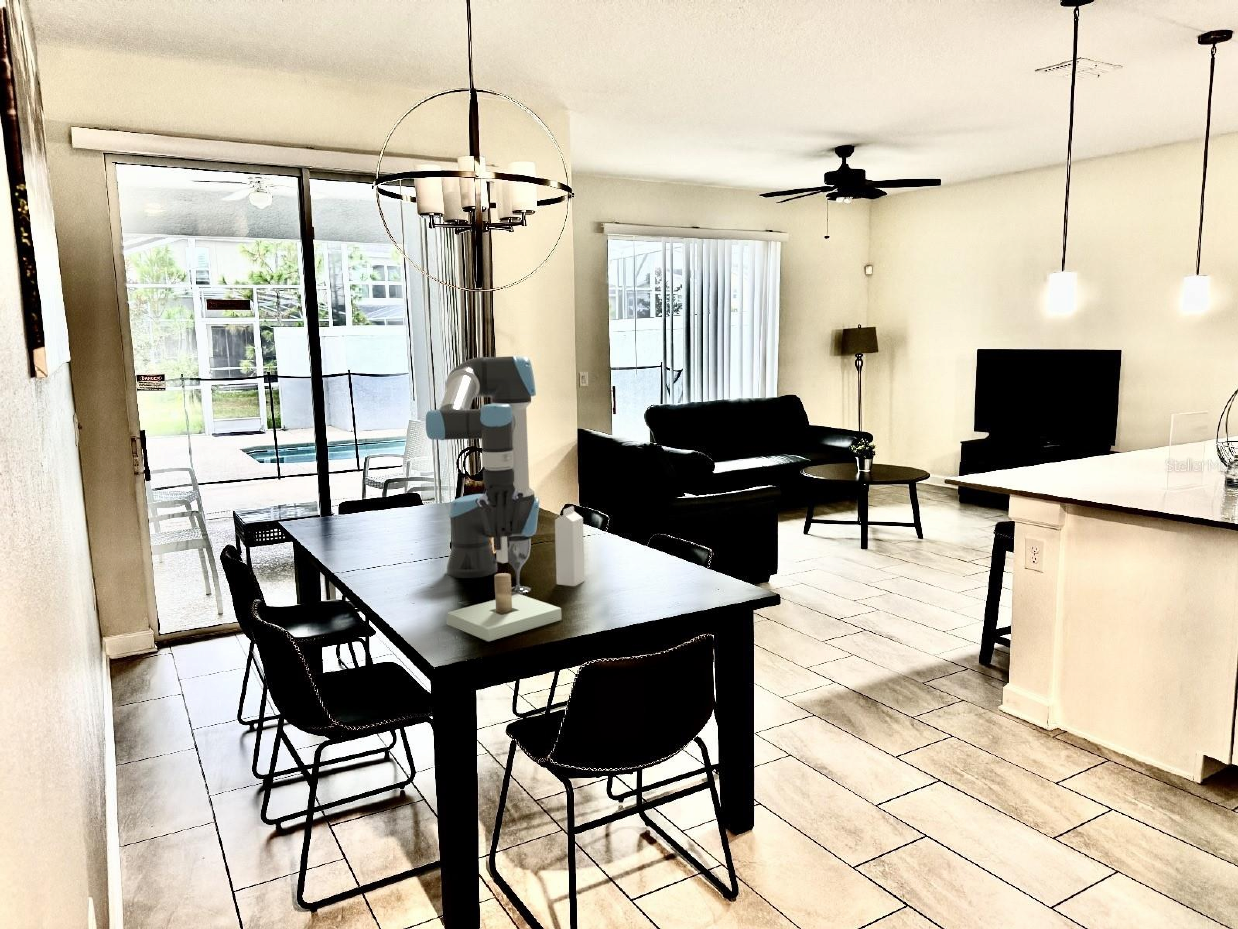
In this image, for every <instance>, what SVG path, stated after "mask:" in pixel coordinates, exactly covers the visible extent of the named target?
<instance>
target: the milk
mask: <svg viewBox="0 0 1238 929" xmlns="http://www.w3.org/2000/svg"><path fill="white" fill-rule="evenodd" d="M562 514H563V515H561V516H559V517H558V518H555V519H554V532H555V533H554V535H555V537H554V538H555V540H554V541H555V542H554V543H555V569H556V571H555V572H556V573H555V575H556V576H555V577H556V585H561V586H567V587H568V586H569V587H577V586H578V585H580V584H582V583H583V582H585V557H584V556H585V553H584V552H585V550H584V549H585V548H584V546H585V545H584V517H582V515H580V514H579V513H577V512H576V511H575V507H574V506H573V505H571V506H569V507H567V508H564V509H563V511H562Z"/></svg>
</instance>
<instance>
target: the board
mask: <svg viewBox="0 0 1238 929" xmlns="http://www.w3.org/2000/svg"><path fill="white" fill-rule="evenodd" d="M511 595H512V612H511V613H508V614H504V615H500V614H497V613H496V600H495V599H493V600H489V601H486V602H485V601H484V602H482V603H477V604H473V605H470V606H466V607H462V608H458V609H455V610H451V611H448V612H447V611H446V625H448V626H451V627H453V628H455V629H458V630H461V631H462V632H465V633H467V634H470V635H472V636H475V637H477V638H478V639H481V640H484V641H486V642H491V641H495V640H497V639H499V640H500V639H501V638H504V637H505V638H506V637H509V636H512V635H515V634H517V633H522V632H525V631H528V630H532V629H535V628H536V629H537V628H539V627H542V626H546V625H548V624H552V623H554V622H555V623H556V622H558V621H562V608H561V607H559V606H555V605H553V604H550V603H548V602H544V601H540V600H538V599H535V598H532V597H529V596H527V595H523V594H511Z"/></svg>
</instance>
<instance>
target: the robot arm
mask: <svg viewBox="0 0 1238 929" xmlns="http://www.w3.org/2000/svg"><path fill="white" fill-rule="evenodd" d="M445 389H446V391H445V393H444V396H443V398H442V401H441V404H440V406H439V409H433V410H428V411H427V412H426V414H425V432H426V436H427V437H428V439H429V440H435V441H436V440H438V441H439V440H440V441H445V440H446V441H447V440H448V441H449V440H476V439H477V440H481V445H482V447H481V448H482V449H481V451H482V452H481V454H482V456H481V458H482V460H481V461H482V467H483V468H484V469H483V470H482V475H483V476H482V477H483V478H482V480H483V484H484V490H483V493H475V494H469V495H464V496H460V497H458V498H455V499H454V500H453V501H452V502H451V503H450V506H449V511H450V513H449V518H450V519H449V520H450V537H451V540H450V541H451V549H450V554H449V557H448V561H447V564H446V573H447V576H449V577H453V578H460V579H475V578H482V577H487V576H491V575H493V574H494V575H495V574H496V573H497V572H498V563H501V564H505V563H509V562H508V550H507V548H509V546H510V543H509V536H511V535H527V536H530V537H532V536H534V535H535V534H536V533H537V527H538V526H537V525H538V521H539V520H538V517H539V508H540V498H539V497H537V496H535V491H534V489H532V488H531V487H530V472H529V471H530V470H529V449H528V448H529V447H528V446H529V444H528V443H529V442H528V420H527V419H528V418H527V407H529V405H530V404H531V403H532V397H534V396H536V394H537V390H536V383H535V377H534V371H533V366H532V363H531V360H530V359H529V358H528V357H526V356H516V355H513V356H487V357H486V356H485V357H484V356H478V357H473V358H471V359H468V360H467V359H466V361H463V362H461V363H460V364H458V365H457V366H456V367H454V368H453V369H452V370H451V371H450V372H449V373H448V376H447V377H446V382H445ZM483 397H484V398H491V403H487V404H483V405H482V406H481V408H477V409H476V408H474V409H471V406H472V404H473V400H474V399H476V398H483ZM491 538H493V540H492V541H493V548H492V546H491ZM493 549H494V550H495V552H494V551H493ZM494 553H496V556H495V554H494Z"/></svg>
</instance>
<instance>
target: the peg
mask: <svg viewBox="0 0 1238 929" xmlns="http://www.w3.org/2000/svg"><path fill="white" fill-rule="evenodd" d="M511 579H512V575H511V573H508V572H507V573H506V572H504V573H503V572H502V573H495V574H494V596H495V597H494V598H495V599H494V600H496V613H497V614H500V615H504V614H508V613H511V612H512V595H513V594H511V587H512V580H511Z"/></svg>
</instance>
